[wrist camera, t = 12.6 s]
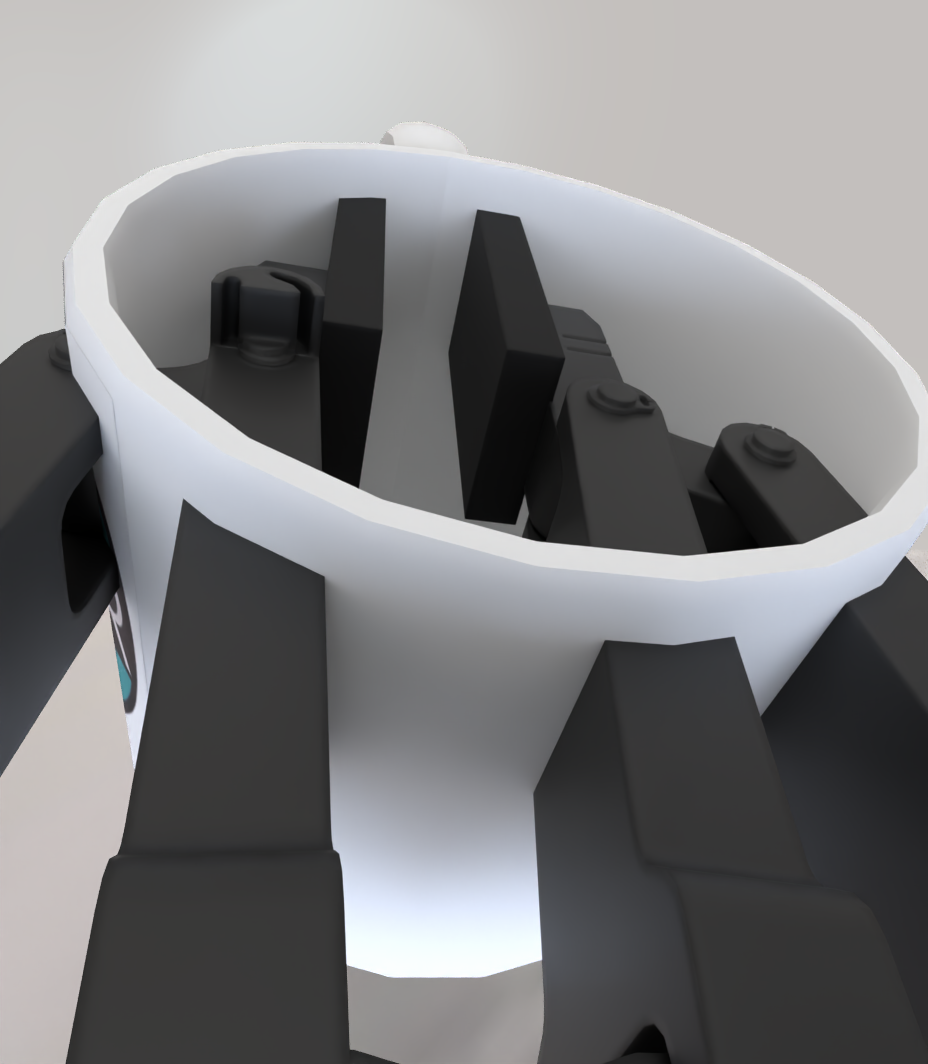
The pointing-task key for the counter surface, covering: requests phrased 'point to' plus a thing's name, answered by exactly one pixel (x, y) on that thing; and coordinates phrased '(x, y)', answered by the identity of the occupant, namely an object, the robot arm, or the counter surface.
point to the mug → (436, 494)
